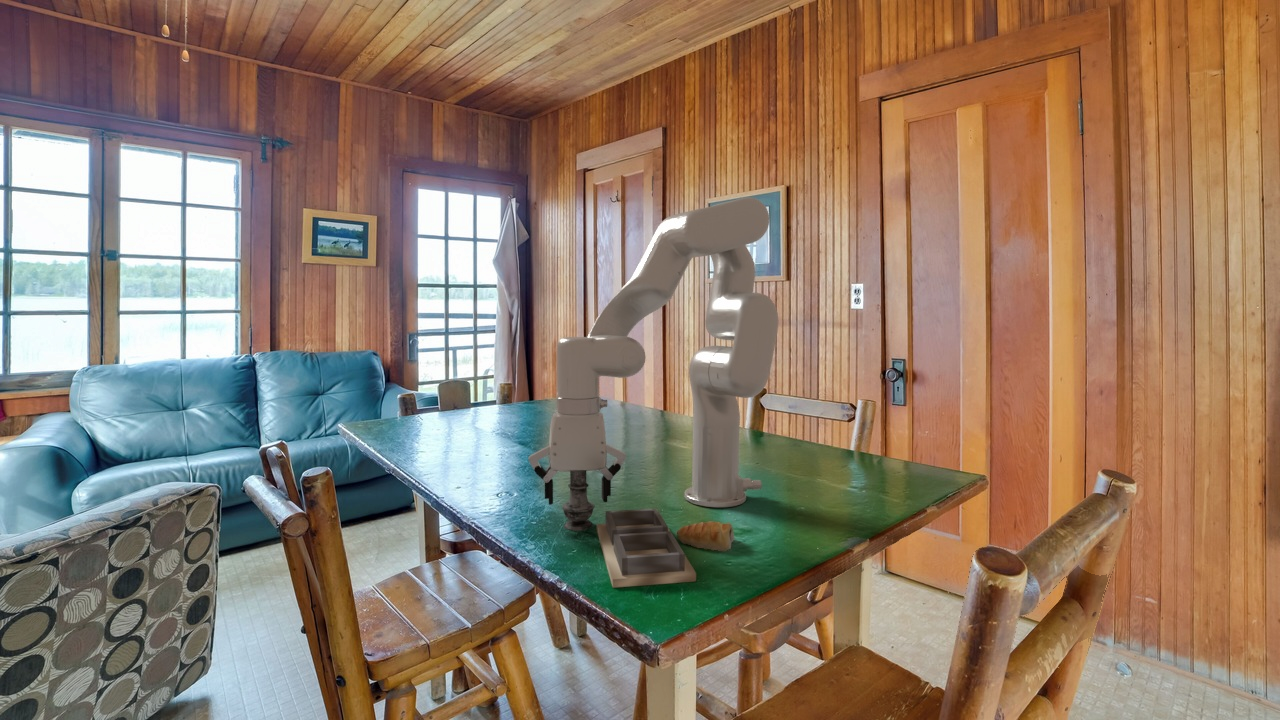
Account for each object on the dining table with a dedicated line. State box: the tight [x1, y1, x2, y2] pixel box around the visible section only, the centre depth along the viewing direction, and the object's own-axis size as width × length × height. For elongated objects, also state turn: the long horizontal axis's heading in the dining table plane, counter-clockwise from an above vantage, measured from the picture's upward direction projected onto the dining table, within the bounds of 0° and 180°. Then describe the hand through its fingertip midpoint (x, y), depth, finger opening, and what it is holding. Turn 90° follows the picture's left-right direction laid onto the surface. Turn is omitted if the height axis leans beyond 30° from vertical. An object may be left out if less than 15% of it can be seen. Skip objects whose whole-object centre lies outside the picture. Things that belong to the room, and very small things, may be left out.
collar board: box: [596, 508, 697, 589], centre depth 94 cm, size 12×22×4 cm, turn 10°
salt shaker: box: [561, 471, 595, 532], centre depth 105 cm, size 6×6×12 cm
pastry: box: [676, 520, 735, 552], centre depth 98 cm, size 9×7×4 cm
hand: (577, 501), depth 105 cm, fingers open, 9 cm apart
